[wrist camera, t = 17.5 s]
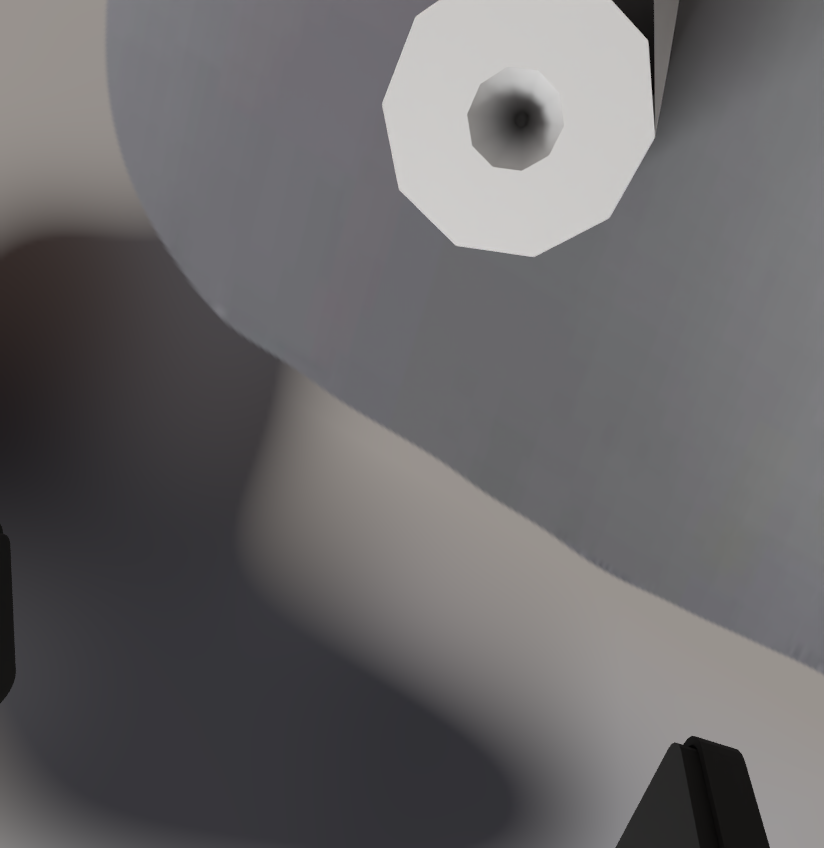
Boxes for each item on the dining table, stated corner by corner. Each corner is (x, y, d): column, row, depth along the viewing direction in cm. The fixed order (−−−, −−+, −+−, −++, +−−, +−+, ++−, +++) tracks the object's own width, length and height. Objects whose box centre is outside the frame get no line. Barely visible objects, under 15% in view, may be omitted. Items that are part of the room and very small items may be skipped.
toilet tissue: (727, -40, 28) (788, -100, 21) (563, 258, 34) (563, 299, 26) (526, -141, 28) (513, -238, 21) (397, 175, 34) (348, 191, 26)
